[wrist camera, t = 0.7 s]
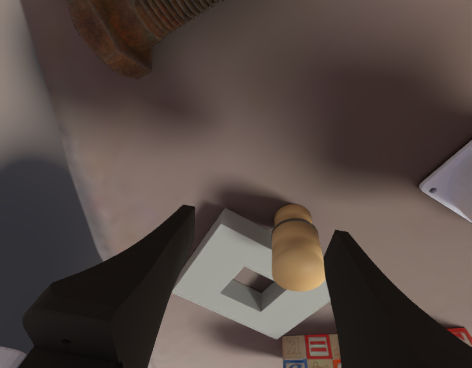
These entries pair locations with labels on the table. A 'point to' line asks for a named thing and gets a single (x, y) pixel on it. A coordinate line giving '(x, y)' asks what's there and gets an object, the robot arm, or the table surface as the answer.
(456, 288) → the table surface
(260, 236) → the board
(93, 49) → the bolt
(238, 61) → the table surface
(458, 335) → the stack of blocks
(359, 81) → the table surface
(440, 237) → the table surface
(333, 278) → the robot arm
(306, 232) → the peg
